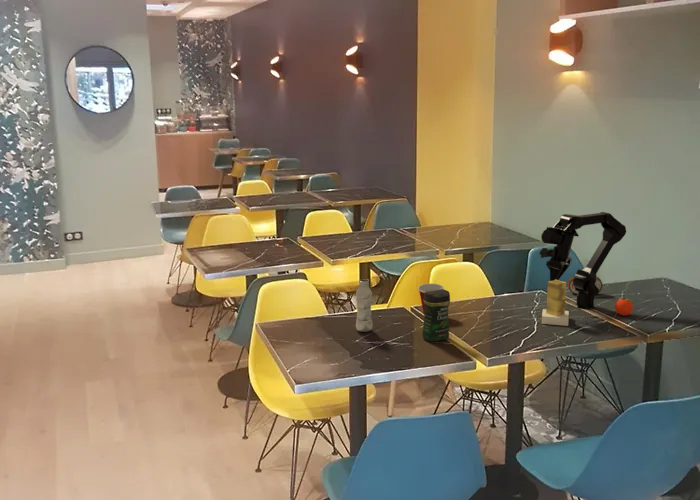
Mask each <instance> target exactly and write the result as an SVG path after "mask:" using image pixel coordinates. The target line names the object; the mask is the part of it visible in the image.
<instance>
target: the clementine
mask: <svg viewBox="0 0 700 500" xmlns="http://www.w3.org/2000/svg"><path fill="white" fill-rule="evenodd" d="M632 302H633V303H635V301H634V300H632V299H630V298H619V299H618V300H617V301H616V302H615V304H614V309H615V311H616V313H617V314H618V315H619V316H629V315H630V314H631V313H632V312H633V310H634V304H633V303H632Z"/></svg>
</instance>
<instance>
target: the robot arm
mask: <svg viewBox="0 0 700 500" xmlns="http://www.w3.org/2000/svg"><path fill="white" fill-rule="evenodd" d="M597 224H600V225H601V227H602V229H603V231H602V240H601V241H600V243H599V245H598V246H597V248H596V250H595V251H594V253H593V254H592V256H591V257H590V259H589V261H588V263H587V264H586V266H585V267H584V268H583V269H580V268H578V269H577V270H576V273H575V275H573V276H574V279H573V285H574V287H575V290H576V291H579V293H578V294H576V306H577V308H578V309H589V310H590V309H591V310H593V309H594V308H595V306H594V303H595V296H596V295H598V294H599V293H600V292H599V289H598V288H597V287H596V285H595V282H596V276H597V273H598V272H599V270H600V268H601V267H602V265H603V263H604V262H605V260H606V258H607V257H608V255H609V253H610V252H611V250H612V249H613V247H614V245H616V244H617V243H618V242H621V240H622V239H623V238H624V237H625V235H626V234H627V228H626V225H624V224H622V222H620V220H618V219H616V218H615V217H614V216H613V214H612V213H610V212H606V211H605V212H604V211H601V212H596V213H588V214H579V215H577V214H562V215H561V217H560V218H559V219H558V221H557V222H556V223H555V224H554V225H553V226H552V227H551V226H546V229H544V230H543V232H542V233H541V242H542V243H543V244H546V245H547V244H548V245H549V244H550V245H555V246H554V247H553V248H548V247H542V248H541V249H540V251H539V252H538V253H539V255H540V258H541V259H544V258H549V259H548V260H546V263H545V266H546V268H547V269H548V270H549V281H553V280H559V281H560V279H561V278H562V276H563V275H564V273H565V272H566V271H567V270H568V269H569V268H570V267H571V264H572V263H573V259H572V257H571V256H569V255H570V252H572V245H573V241H574V237H579V234H578V232H577V230H579V229H581V228H582V227H584V226H589V225H590V226H591V225H597ZM598 292H599V293H598Z"/></svg>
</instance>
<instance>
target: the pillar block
mask: <svg viewBox="0 0 700 500" xmlns="http://www.w3.org/2000/svg"><path fill="white" fill-rule="evenodd" d="M546 289H547V290H546V308H545V309H546V313H547V314H550V315H554V316H559V315H563V314H565V311H566V295H567V282H566V281H564V280H560V279H559V280H556V279H555V280H553V281H550V280H549V281H547V288H546Z"/></svg>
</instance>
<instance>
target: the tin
mask: <svg viewBox="0 0 700 500" xmlns="http://www.w3.org/2000/svg"><path fill="white" fill-rule="evenodd" d="M574 276H575V275H572V276H571V277H569V279H568V280H567V283H566V286H567V288H568V290H569V291H570V293H573V294H574V295H577V294H578V293H579V291H576V290H575V287H574V285H573V279H574ZM595 285H596V287H597V288H598V289H599V292H598V294H599V293H601V291H602V289H603V282H602V280H601V278H600V277H599V276H597V275H596V282H595Z"/></svg>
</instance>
